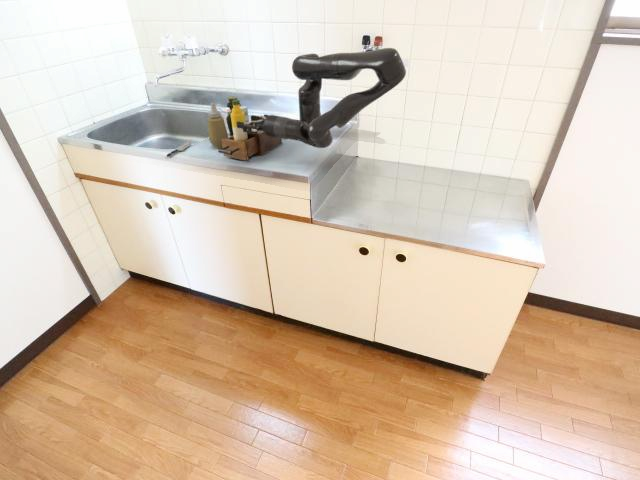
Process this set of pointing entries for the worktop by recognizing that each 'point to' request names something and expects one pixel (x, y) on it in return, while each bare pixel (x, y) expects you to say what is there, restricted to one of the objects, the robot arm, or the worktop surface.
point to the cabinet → (266, 142)
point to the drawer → (240, 147)
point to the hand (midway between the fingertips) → (244, 121)
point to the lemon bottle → (235, 117)
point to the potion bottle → (230, 115)
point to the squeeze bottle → (216, 127)
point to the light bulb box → (227, 111)
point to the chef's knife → (180, 148)
